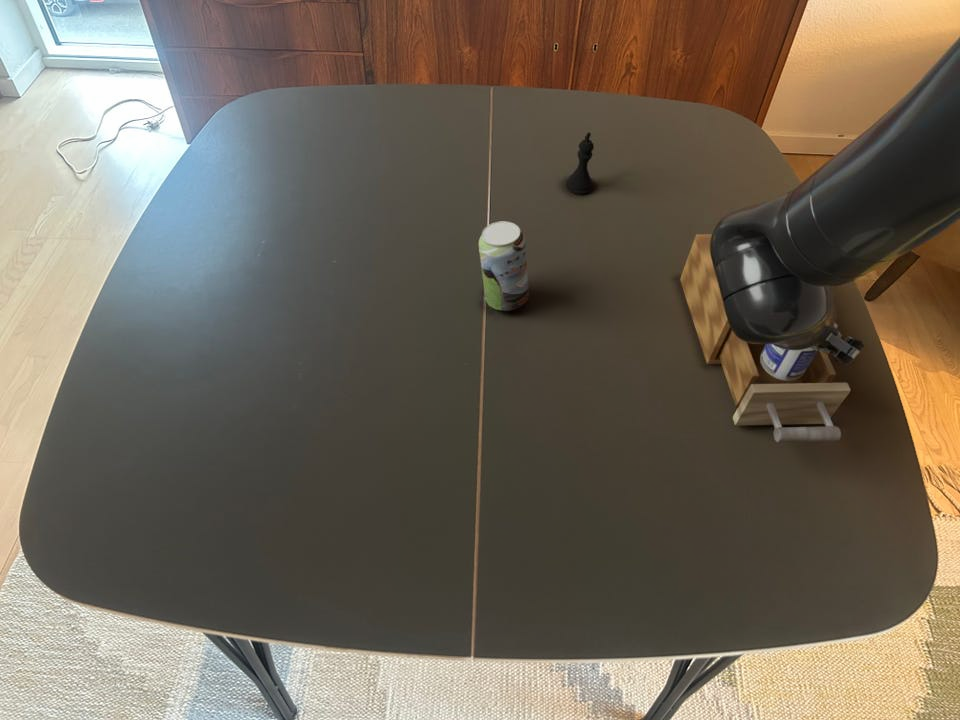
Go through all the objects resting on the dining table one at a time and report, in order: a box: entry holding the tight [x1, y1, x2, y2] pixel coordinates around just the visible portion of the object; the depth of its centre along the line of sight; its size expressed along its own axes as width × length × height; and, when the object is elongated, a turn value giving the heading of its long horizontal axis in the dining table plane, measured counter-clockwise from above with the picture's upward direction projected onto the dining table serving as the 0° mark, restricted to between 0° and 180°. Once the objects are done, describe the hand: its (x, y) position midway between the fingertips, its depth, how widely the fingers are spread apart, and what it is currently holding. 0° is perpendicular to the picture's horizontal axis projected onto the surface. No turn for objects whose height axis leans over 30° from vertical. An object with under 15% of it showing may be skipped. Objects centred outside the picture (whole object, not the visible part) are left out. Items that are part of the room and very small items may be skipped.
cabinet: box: [679, 233, 730, 365], centre depth 95 cm, size 16×13×9 cm
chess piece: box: [565, 131, 595, 196], centre depth 111 cm, size 4×4×10 cm
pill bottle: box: [760, 344, 818, 381], centre depth 82 cm, size 5×5×9 cm
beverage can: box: [478, 220, 530, 312], centre depth 94 cm, size 6×7×12 cm
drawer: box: [718, 327, 852, 443], centre depth 86 cm, size 20×11×7 cm, turn 3°
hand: (805, 328), depth 82 cm, fingers closed on pill bottle, 5 cm apart
